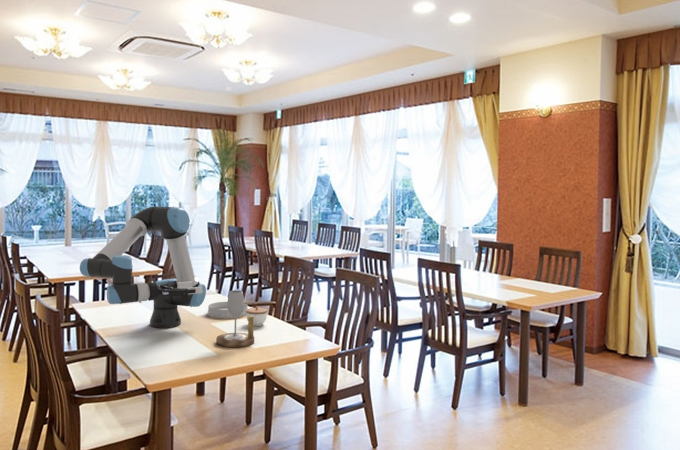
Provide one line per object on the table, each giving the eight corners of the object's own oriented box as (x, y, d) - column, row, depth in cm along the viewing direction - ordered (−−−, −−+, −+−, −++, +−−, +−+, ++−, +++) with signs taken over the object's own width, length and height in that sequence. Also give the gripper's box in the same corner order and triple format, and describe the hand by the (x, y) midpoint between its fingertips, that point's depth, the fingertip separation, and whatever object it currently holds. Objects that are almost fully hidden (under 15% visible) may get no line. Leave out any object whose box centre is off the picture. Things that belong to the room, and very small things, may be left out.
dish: (244, 309, 313) (244, 300, 312) (251, 317, 292) (251, 308, 291) (205, 310, 305) (206, 302, 305) (209, 319, 284) (209, 310, 284)
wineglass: (229, 340, 236) (230, 293, 235) (224, 335, 243) (225, 290, 242) (245, 338, 240) (246, 292, 239) (240, 334, 247) (241, 289, 245)
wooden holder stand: (222, 349, 230) (223, 321, 229) (211, 339, 245) (212, 313, 244) (259, 344, 239) (260, 318, 238) (246, 335, 253) (247, 310, 253)
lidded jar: (262, 327, 269) (263, 309, 269) (242, 326, 271) (243, 308, 271) (269, 323, 280) (270, 305, 279) (250, 321, 282) (250, 304, 281)
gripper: (139, 295, 232) (187, 290, 244) (155, 306, 211) (206, 301, 223) (139, 278, 231) (187, 274, 243) (155, 288, 211) (206, 283, 223)
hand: (197, 287), depth 233 cm, fingers open, 13 cm apart
